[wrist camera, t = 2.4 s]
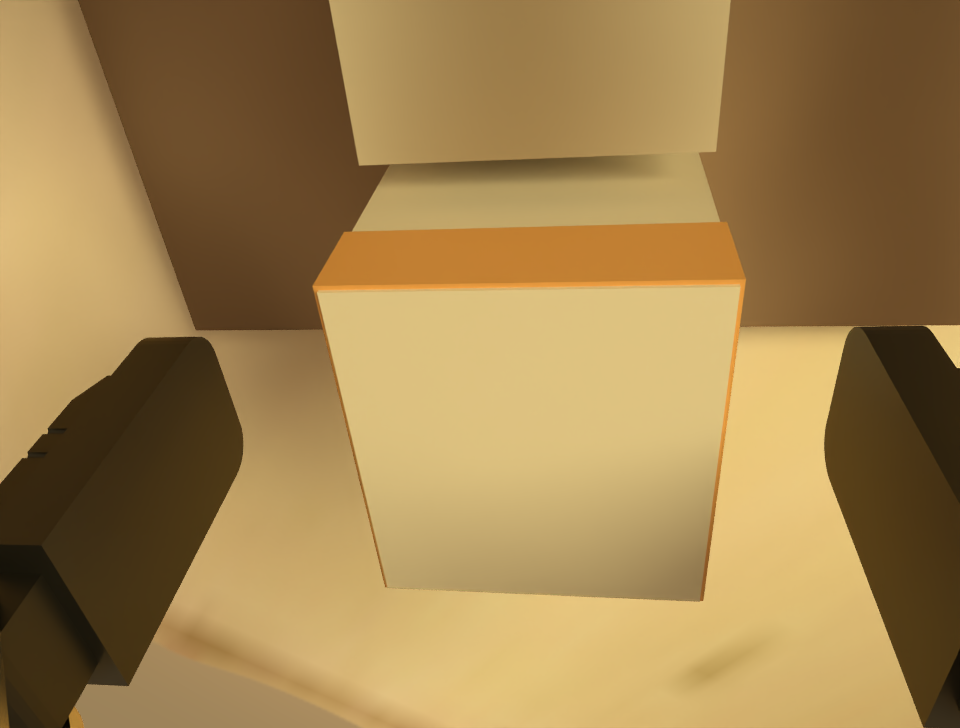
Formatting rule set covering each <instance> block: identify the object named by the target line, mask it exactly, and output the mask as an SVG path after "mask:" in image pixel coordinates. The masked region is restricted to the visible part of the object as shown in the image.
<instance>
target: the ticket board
mask: <svg viewBox="0 0 960 728" xmlns="http://www.w3.org/2000/svg"><path fill="white" fill-rule="evenodd" d="M78 1H79V4H80V7H81V9H82V12H83V15H84V18H85V21H86V23H87V26H88V29H89V32H90V35H91V37H92V40H93V43H94V46H95V49H96V51H97V54H98V57H99V60H100V63H101V66H102V68H103V71H104V74H105V77H106V80H107V82H108V85H109V88H110V91H111V94H112V96H113V99H114V102H115V105H116V108H117V110H118V113H119V116H120V119H121V122H122V124H123V127H124V130H125V133H126V136H127V138H128V141H129V144H130V147H131V150H132V152H133V155H134V158H135V161H136V164H137V166H138V169H139V172H140V175H141V178H142V181H143V183H144V186H145V189H146V192H147V195H148V197H149V200H150V203H151V206H152V209H153V211H154V214H155V217H156V220H157V223H158V225H159V228H160V231H161V234H162V237H163V239H164V242H165V245H166V248H167V251H168V253H169V256H170V259H171V262H172V265H173V267H174V270H175V273H176V276H177V279H178V281H179V284H180V287H181V290H182V293H183V296H184V298H185V301H186V304H187V307H188V310H189V312H190V315H191V318H192V321H193V324H194V326H195V329H196V330H304V329H323V327H322V323H321V319H320V315H319V311H318V307H317V303H316V299H315V294H314V290H313V284H314V282H315V281H316V279H317V277H318V276H319V274H320V272H321V271H322V269H323V267H324V265H325V264H326V262H327V260H328V259H329V257H330V255H331V253H332V252H333V250H334V248H335V247H336V245H337V243H338V241H339V240H340V238H341V236H342V235H343V233H344V232H352V230H353V228H354V227H355V225H356V223H357V221H358V220H359V218H360V216H361V214H362V213H363V211H364V209H365V207H366V206H367V204H368V202H369V200H370V199H371V197H372V195H373V193H374V192H375V190H376V188H377V186H378V184H379V183H380V181H381V179H382V177H383V176H384V174H385V172H386V170H387V169H388V167H389V165H390V164H412V163H438V162H464V161H490V160H516V159H542V158H568V157H593V156H619V155H645V154H671V153H697V152H699V156H700V159H701V162H702V165H703V168H704V172H705V175H706V178H707V181H708V184H709V188H710V191H711V194H712V197H713V200H714V204H715V207H716V210H717V213H718V216H719V220H720V222H727V223H728V226H729V229H730V232H731V235H732V238H733V241H734V244H735V247H736V250H737V253H738V256H739V259H740V263H741V266H742V269H743V272H744V275H745V278H746V283H745V291H744V298H743V306H742V313H741V321H740V327H749V326H897V325H960V0H78Z"/></svg>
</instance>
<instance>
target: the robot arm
mask: <svg viewBox="0 0 960 728" xmlns="http://www.w3.org/2000/svg"><path fill="white" fill-rule="evenodd" d="M824 451H825V462H826V468H827V472H828V476H829V479H830V482H831V485H832V487H833V490H834V493H835V495H836V498H837V501H838V503H839V506H840V508H841V511H842V514H843V516H844V519H845V522H846V524H847V527H848V530H849V532H850V535H851V538H852V540H853V543H854V545H855V548H856V551H857V553H858V556H859V559H860V561H861V564H862V567H863V569H864V572H865V574H866V577H867V580H868V582H869V585H870V588H871V590H872V593H873V596H874V598H875V601H876V603H877V606H878V609H879V611H880V614H881V617H882V619H883V622H884V625H885V627H886V630H887V632H888V635H889V638H890V640H891V643H892V646H893V648H894V651H895V654H896V656H897V659H898V661H899V664H900V667H901V669H902V672H903V675H904V677H905V680H906V683H907V685H908V688H909V690H910V693H911V696H912V698H913V701H914V704H915V706H916V709H917V712H918V714H919V717H920V719H921V722H922V725H923V727H924V728H960V368H956V367H955V365H954V364H953V362H952V361H951V359H950V358H949V356H948V355H947V353H946V352H945V350H944V349H943V348H942V346H941V345H940V343H939V342H938V340H937V339H936V337H935V336H934V334H933V333H932V332H931V331H930V329H928V328H927V327H925V326H878V327H854V328H853V329H852V330H851V331H850V332H849V334H848V336H847V338H846V341H845V345H844V349H843V353H842V358H841V362H840V366H839V371H838V375H837V380H836V384H835V389H834V393H833V397H832V402H831V406H830V411H829V415H828V419H827V424H826V429H825V440H824ZM242 455H243V434H242V428H241V425H240V422H239V419H238V416H237V413H236V410H235V408H234V405H233V402H232V399H231V396H230V393H229V390H228V388H227V385H226V382H225V379H224V376H223V373H222V370H221V368H220V365H219V362H218V359H217V356H216V353H215V351H214V349H213V347H212V345H211V344H210V342H209V341H208V340H206V339H205V338H203V337H164V338H145V339H143V340H141V341H140V342H139V343H138V344H137V345H136V346H135V347H134V349H133V350H132V351H131V352H130V354H129V355H128V356H127V357H126V358H125V360H124V361H123V362H122V363H121V364H120V366H119V367H118V368H117V369H116V370H115V372H114V373H113V374H112V375H111V376H106V377H105V378H103V379H102V380H100V381H99V382H98V383H96V384H95V385H93V386H92V387H90V388H89V389H87V390H86V391H85V392H83V393H82V394H80V395H79V396H77V397H76V398H74V399H73V400H72V401H71V402H70V403H69V404H68V405H67V407H66V408H65V409H64V410H63V411H62V412H61V414H60V415H59V416H58V417H57V418H56V419H55V421H54V422H53V423H52V424H51V425H50V426H49V428H48V434H43V435H42V436H41V437H40V438H39V439H38V440H37V442H36V443H35V444H34V445H33V446H32V447H31V449H30V450H29V451H28V457H27V458H22V459H21V460H20V461H19V463H18V464H17V465H16V466H15V467H14V468H13V470H12V471H11V472H10V473H9V474H8V475H7V477H6V478H5V479H4V480H3V481H2V482H1V484H0V728H84V725H83V721H82V718H81V715H80V714H79V712H78V711H77V709H76V708H75V704H76V702H77V700H78V699H79V697H80V695H81V694H82V692H83V690H84V688H85V686H86V685H87V684H97V685H118V686H129V684H130V682H131V680H132V678H133V676H134V674H135V672H136V670H137V668H138V667H139V664H140V662H141V661H142V659H143V657H144V655H145V653H146V651H147V649H148V647H149V645H150V643H151V641H152V639H153V637H154V635H155V633H156V631H157V629H158V628H159V626H160V624H161V622H162V620H163V618H164V616H165V614H166V612H167V610H168V608H169V606H170V604H171V602H172V600H173V598H174V596H175V594H176V592H177V590H178V588H179V587H180V585H181V583H182V581H183V579H184V577H185V575H186V573H187V571H188V569H189V567H190V565H191V563H192V561H193V559H194V557H195V555H196V553H197V551H198V549H199V547H200V546H201V544H202V542H203V540H204V538H205V536H206V534H207V532H208V530H209V528H210V526H211V524H212V522H213V520H214V518H215V516H216V514H217V512H218V510H219V508H220V506H221V505H222V503H223V501H224V499H225V497H226V495H227V493H228V491H229V489H230V487H231V485H232V483H233V481H234V479H235V477H236V475H237V473H238V471H239V468H240V465H241V461H242Z"/></svg>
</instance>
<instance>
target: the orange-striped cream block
mask: <svg viewBox="0 0 960 728" xmlns="http://www.w3.org/2000/svg"><path fill="white" fill-rule="evenodd" d="M745 283H746V278H745V275H744V272H743V269H742V266H741V263H740V259H739V256H738V253H737V250H736V247H735V244H734V241H733V238H732V235H731V232H730V229H729V226H728V223H727V222H720V220H719V216H718V213H717V210H716V207H715V204H714V200H713V197H712V194H711V191H710V188H709V184H708V181H707V178H706V175H705V172H704V168H703V165H702V162H701V159H700V156H699V152H697V153H671V154H645V155H619V156H593V157H568V158H542V159H516V160H490V161H464V162H438V163H412V164H390V165H389V167H388V169H387V170H386V172H385V174H384V176H383V177H382V179H381V181H380V183H379V184H378V186H377V188H376V190H375V192H374V193H373V195H372V197H371V199H370V200H369V202H368V204H367V206H366V207H365V209H364V211H363V213H362V214H361V216H360V218H359V220H358V221H357V223H356V225H355V227H354V228H353V230H352V232H344V233H343V235H342V236H341V238H340V240H339V241H338V243H337V245H336V247H335V248H334V250H333V252H332V253H331V255H330V257H329V259H328V260H327V262H326V264H325V265H324V267H323V269H322V271H321V272H320V274H319V276H318V277H317V279H316V281H315V282H314V284H313V290H314V294H315V299H316V303H317V307H318V311H319V315H320V319H321V323H322V327H323V332H324V336H325V340H326V344H327V348H328V352H329V356H330V361H331V365H332V369H333V373H334V377H335V381H336V385H337V390H338V394H339V398H340V402H341V406H342V410H343V414H344V418H345V423H346V427H347V431H348V435H349V439H350V443H351V447H352V452H353V456H354V460H355V464H356V468H357V472H358V476H359V481H360V485H361V489H362V493H363V497H364V501H365V505H366V509H367V514H368V518H369V522H370V526H371V530H372V534H373V538H374V543H375V547H376V551H377V555H378V559H379V563H380V567H381V572H382V576H383V580H384V584H385V587H387V588H400V589H423V590H446V591H469V592H492V593H515V594H538V595H561V596H584V597H607V598H630V599H653V600H676V601H699V602H700V601H703V598H704V591H705V583H706V576H707V568H708V561H709V553H710V546H711V538H712V531H713V523H714V516H715V508H716V501H717V493H718V486H719V478H720V471H721V463H722V456H723V448H724V441H725V433H726V426H727V418H728V411H729V403H730V396H731V388H732V381H733V373H734V366H735V358H736V351H737V343H738V336H739V328H740V321H741V313H742V306H743V298H744V291H745Z"/></svg>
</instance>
